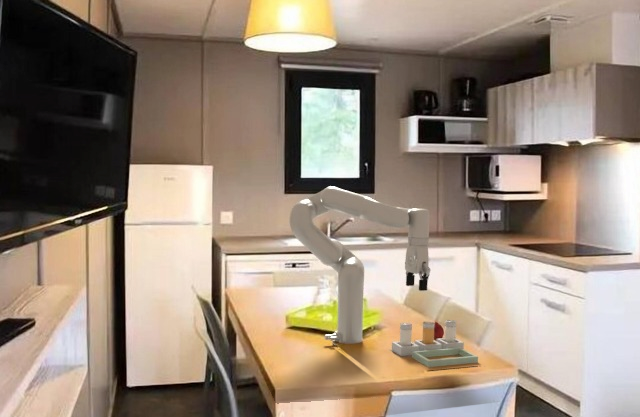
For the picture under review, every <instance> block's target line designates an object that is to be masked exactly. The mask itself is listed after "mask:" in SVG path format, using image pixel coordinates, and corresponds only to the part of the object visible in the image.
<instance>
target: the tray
mask: <svg viewBox="0 0 640 417" xmlns="http://www.w3.org/2000/svg"><path fill="white" fill-rule="evenodd" d="M455 355H457V356H456V357H448V358H436V357H443V356H455ZM458 356H459V357H458ZM433 357H435V359H429V358H433ZM411 358H412V359H414V360H415V361H417V362H419V363H420V364H422V365H423V366H425V367H427V368H434V367H435V368H436V367H442V366H446V367H447V366H455V365H457V366H458V365H465V364H468V365H469V364H478V363H479V356H478V355H476V354H473V353H472V352H470V351H467V350H466V349H462V348H450V349H438V350H426V351H413V352H412V356H411ZM478 367H479V366H478V365H473V366H472V365H471V366H461V367H450V368H449V367H448V368H440V369H429V370H428V369H427V370H426V372H437V371H446V370H457V369H458V370H460V369H469V368H478Z"/></svg>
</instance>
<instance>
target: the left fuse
mask: <svg viewBox="0 0 640 417" xmlns="http://www.w3.org/2000/svg"><path fill="white" fill-rule="evenodd" d="M412 328H413V325H412V323H409V322H401V323H399V330H400V331H399V341H400V345H401V346H411V342H412V332H413V331H412Z"/></svg>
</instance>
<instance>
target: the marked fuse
mask: <svg viewBox="0 0 640 417" xmlns="http://www.w3.org/2000/svg"><path fill="white" fill-rule="evenodd" d="M434 324H435V321H434V322H433V321H423V322H422V339H421V340H422V343H423V344H425V345H426V344H434V340H435V339H434Z"/></svg>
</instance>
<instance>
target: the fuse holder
mask: <svg viewBox="0 0 640 417" xmlns="http://www.w3.org/2000/svg"><path fill="white" fill-rule="evenodd" d="M444 338H445V337H444ZM444 338H443V337H442V338H439V339H434V344H426V345H425V344H423V343H422V339H415V340H414V342H412V341H411V346H401V345H400V340H399V341H392V342H391V349H389V351H390V352H392V353H394V355H396V356H398V357H400V358H404V357H412V352H413V351H426V350H438V349H450V348H462V349H464V347H465V343H464V342H463V341H462V340H460V339H458V338H456V342H452V343H447V342H445V341H444ZM464 350H465V349H464Z"/></svg>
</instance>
